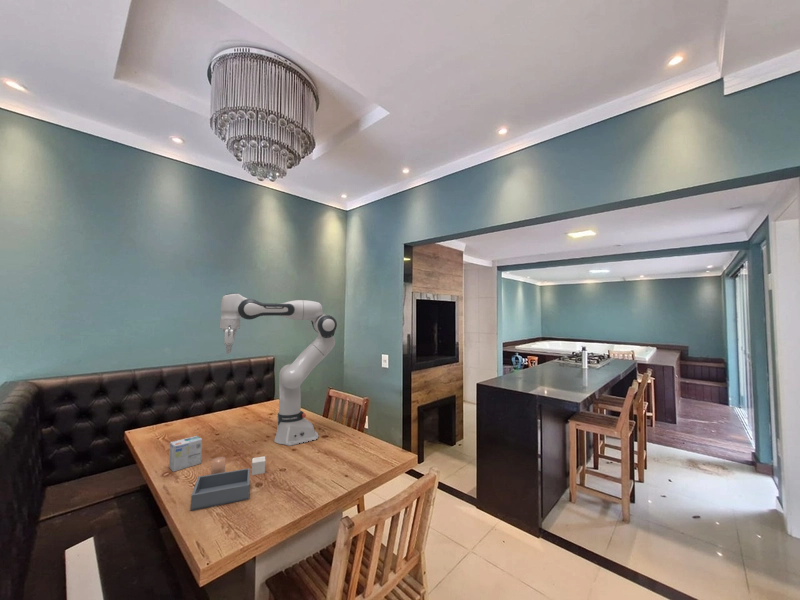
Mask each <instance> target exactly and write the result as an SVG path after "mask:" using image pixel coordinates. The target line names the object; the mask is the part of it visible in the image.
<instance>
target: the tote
mask: <svg viewBox="0 0 800 600" xmlns="http://www.w3.org/2000/svg"><path fill="white" fill-rule="evenodd" d="M196 479H197V480H196V481H195V484H194V487H193V490H192V493H191V496H190V512H193V511H197V510H203V509H206V508H213V507H218V506H222V505H227V504H233V503H237V502H242V501H247V500H249V499H250V481H251V468H250V467H248V468H244V469H243V468H242V469H237V470H231V471H225V472H224V473H218V474H211V473H210V474H206V475H205V474H204V475H200V476H197V478H196Z"/></svg>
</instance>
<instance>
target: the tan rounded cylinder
mask: <svg viewBox="0 0 800 600" xmlns="http://www.w3.org/2000/svg"><path fill="white" fill-rule="evenodd" d="M210 463H211V464H210V475H211V474H218V473H224V472H226V457H225V456H218V457H214V458H213V459H212V460H211V462H210Z"/></svg>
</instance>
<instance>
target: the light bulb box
mask: <svg viewBox="0 0 800 600" xmlns="http://www.w3.org/2000/svg"><path fill="white" fill-rule="evenodd" d="M202 449H203V438H201V437H200V436H198V435H195V436H190V437H186V438H182V439H178V440H173V441H170V443H169V464H168V467H169V469H170V470H171V471H172V472H173V473H174V472H177V471H180V470H184V469H186V468H190V467H194V466H197V465H200V464H202V452H203V451H202Z"/></svg>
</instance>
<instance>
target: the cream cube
mask: <svg viewBox="0 0 800 600" xmlns="http://www.w3.org/2000/svg"><path fill="white" fill-rule="evenodd" d="M251 461H252V462H251V476H257V475H261V474H265V473H266V456H257V457H253V458H252V460H251Z"/></svg>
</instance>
